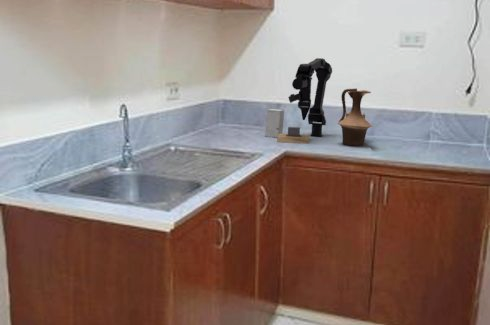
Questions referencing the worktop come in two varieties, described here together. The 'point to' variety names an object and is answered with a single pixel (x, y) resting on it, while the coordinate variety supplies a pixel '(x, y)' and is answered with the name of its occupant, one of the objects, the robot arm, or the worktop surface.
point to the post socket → (293, 138)
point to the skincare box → (274, 122)
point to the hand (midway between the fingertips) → (304, 118)
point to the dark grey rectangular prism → (294, 131)
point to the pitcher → (354, 120)
